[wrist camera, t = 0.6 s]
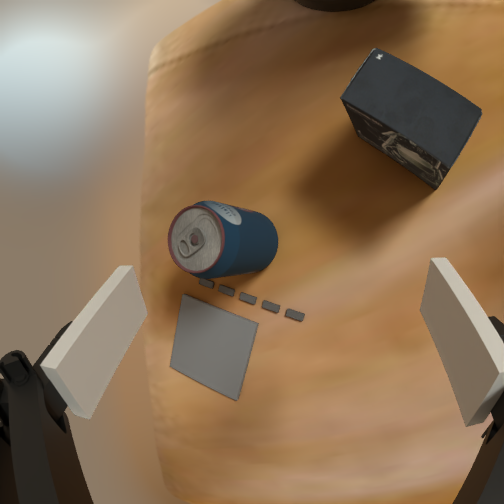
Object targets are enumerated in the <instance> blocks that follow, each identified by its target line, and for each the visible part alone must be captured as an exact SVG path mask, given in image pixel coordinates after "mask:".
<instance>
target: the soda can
mask: <svg viewBox="0 0 504 504" xmlns="http://www.w3.org/2000/svg"><path fill="white" fill-rule="evenodd" d="M168 247H169V251H170V254H171V257H172V259H173V260H174V262H175V263H176V264H177V265H178V266H179V267H180V268H181V269H183V270H184V271H186V272H189V273H190V274H192V275H194V276H196V277H198V278H203V279H211V278H219V277H226V276H233V275H241V274H248V273H255V272H258V271H261V270H263V269H264V268H266V267H267V266H268V265H269V264H270V263H271V262H272V260H273V259H274V257H275V255H276V252H277V248H278V235H277V231H276V229H275V227H274V225H273V223H272V222H271V221H270V220H269V219H268V218H267V217H266V216H265V215H263V214H261V213H258V212H255V211H251V210H247V209H243V208H239V207H235V206H231V205H227V204H223V203H219V202H214V201H202V202H198V203H196V204H194V205H192V206H188V207H186V208H184V209H183V210H181V211H180V212H179V213H178V214H177V215H176V216H175V218H174V219H173V221H172V223H171V226H170V229H169V233H168Z"/></svg>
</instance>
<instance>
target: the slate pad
mask: <svg viewBox="0 0 504 504" xmlns="http://www.w3.org/2000/svg"><path fill="white" fill-rule="evenodd" d="M258 324H259V323H256V322H254V321H251V320H248V319H246V318H243V317H241V316H238V315H236V314H233V313H231V312H228V311H225V310H223V309H220V308H218V307H215V306H213V305H210V304H208V303H206V302H203V301H201V300H198V299H196V298H193V297H191V296H189V295H186V294H183V295H182V300H181V306H180V311H179V316H178V322H177V328H176V333H175V339H174V345H173V351H172V357H171V363H170V367H172V368H174V369H176V370H177V371H179V372H181V373H183V374H185V375H186V376H188V377H190V378H192V379H194V380H196V381H198V382H200V383H202V384H204V385H205V386H207V387H209V388H211V389H213V390H215V391H217V392H219V393H221V394H223V395H225V396H227V397H230V398H232V399H234V400H236V401H237V400H238V399H239V395H240V392H241V388H242V384H243V381H244V377H245V373H246V369H247V366H248V362H249V358H250V354H251V351H252V347H253V343H254V339H255V336H256V332H257V328H258Z"/></svg>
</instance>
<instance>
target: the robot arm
mask: <svg viewBox="0 0 504 504" xmlns="http://www.w3.org/2000/svg"><path fill="white" fill-rule="evenodd" d="M295 1H296V2H298V3H299V4H301V5H303V6H305V7H308V8H311V9H315V10H321V11H344V10H350V9H355V8H359V7H362V6H364V5H367V4H369V3H371V2H373V1H374V0H295ZM420 311H421V314H422V316H423V318H424V320H425V322H426V325H427V327H428V329H429V331H430V334H431V336H432V338H433V341H434V343H435V345H436V348H437V350H438V352H439V355H440V357H441V360H442V362H443V365H444V367H445V370H446V372H447V375H448V377H449V380H450V383H451V385H452V388H453V391H454V394H455V396H456V399H457V402H458V405H459V408H460V411H461V414H462V417H463V420H464V423H465V426H466V427H467V426H471V425H475V424H479V423H482V422H484V421H485V419H486V418H487V416H488V415H489V414H490V412H491V414H492V416H493V419H494V420H493V421H492V423H491V424H490V425H489V427H488V428H487V429H486V431H485V432H484V433H483V435H482V436H481V437H482V438H484V436H485V435H486V436H485V439H484V441H483V444H482V446H481V448H480V451H479V453H478V455H477V457H476V459H475V462H474V464H473V466H472V468H471V470H470V472H469V474H468V476H467V478H466V480H465V482H464V484H463V486H462V488H461V489H460V491H459V493H458V495H457V497H456V498H455V500H454V502H453V504H504V324H503V323H502V322H501V321H499V320H498V319H497V318H496V317H494V316H492V317H487V315H486V314H485V312H484V311H483V309H482V308H481V306H480V305H479V303H478V302H477V300H476V299H475V297H474V296H473V294H472V293H471V291H470V290H469V289H468V287H467V286H466V284H465V283H464V282H463V280H462V279H461V277H460V276H459V275H458V273H457V272H456V271H455V269H454V268H453V266H452V265H451V264H450V262H449V261H448V260H447V259H446V258H431V260H430V265H429V270H428V275H427V280H426V285H425V290H424V294H423V299H422V303H421V307H420ZM147 314H148V312H147V309H146V306H145V303H144V300H143V297H142V294H141V290H140V287H139V284H138V280H137V277H136V274H135V270H134V267H133V266H132V265H131V266H119V267H118V268H117V269H116V270H115V271H114V272H113V274H112V275H111V276H110V277H109V278H108V279H107V281H106V282H105V283H104V284H103V285H102V287H101V288H100V289H99V290H98V291H97V292H96V294H95V295H94V296H93V297H92V299H91V300H90V301H89V302H88V303H87V305H86V306H85V307H84V308H83V310H82V311H81V312H80V313H79V315H78V316H77V317H76V318H75V320H74V321H71V322H70V323H68V324H67V325H66V326H64V327H63V328H62V329H61V330H60V331H59V332H58V334H57V335H56V336H55V338H54V339H53V340H52V341H51V343H50V345H48V347H47V348H46V349H45V351H44V352H43V353H42V355H41V356H40V357H39V359H38V360H37V361H36V363H35V364H34V365H33V366H32V365H31V363H30V362H29V360H28V358H27V357H26V355H25V354H24V353H23V352H22V351H19V350H15V351H11V352H10V353H8V354H6V355H5V356H4V357H2V358H1V360H0V373H1V374H2V376H3V377H4V379H0V504H93V501H92V498H91V496H90V493H89V490H88V487H87V484H86V481H85V478H84V475H83V472H82V469H81V465H80V462H79V459H78V456H77V452H76V448H75V445H74V441H73V438H72V433H71V430H70V425H69V421H68V417H67V415H66V413H65V412H64V411H65V409H66V408H67V406H68V407H69V408H70V410H71V411H72V412H73V414H74V415H76V416H79V417H83V418H86V419H90V418H91V416H92V414H93V413H94V411H95V409H96V407H97V405H98V403H99V401H100V399H101V397H102V395H103V393H104V391H105V390H106V388H107V386H108V384H109V382H110V380H111V378H112V377H113V374H114V373H115V371H116V369H117V367H118V366H119V364H120V362H121V360H122V358H123V356H124V355H125V353H126V351H127V349H128V348H129V346H130V344H131V342H132V340H133V339H134V337H135V335H136V333H137V332H138V330H139V328H140V326H141V325H142V323H143V321H144V319H145V318H146V316H147Z"/></svg>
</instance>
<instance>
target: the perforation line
mask: <svg viewBox="0 0 504 504" xmlns="http://www.w3.org/2000/svg"><path fill="white" fill-rule="evenodd" d="M199 284H201V285H203V286H206V287H209V288H211V289H212V288H213V286H214V282H212V281H209V280H207V279H203V278H200V280H199ZM218 291H219V292H222V293H225V294H227V295H230V296H234V291H235V290H234V289H231V288H229V287H226V286H223V285H220V286H219V290H218ZM240 299H241V300H243V301H246V302H249V303H252V304H255V303H256V299H257V297H254V296H251V295H248V294H245V293H243V292H241V294H240ZM262 307H263V308H266V309H268V310H271V311H274V312H277V313H278V312H279V309H280V305H277V304H274V303H271V302H268V301H265V300H264V301H263V305H262ZM304 315H305V314H303V313H300V312H297V311H294V310H291V309H287V313H286V316H288V317H291V318H294V319H297V320H300V321H303V319H304Z"/></svg>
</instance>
